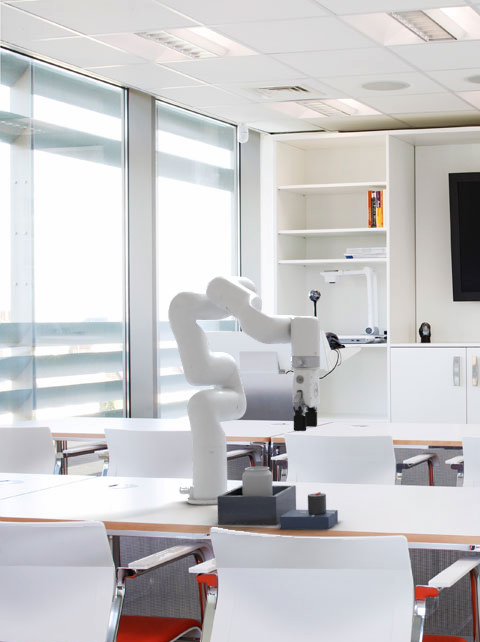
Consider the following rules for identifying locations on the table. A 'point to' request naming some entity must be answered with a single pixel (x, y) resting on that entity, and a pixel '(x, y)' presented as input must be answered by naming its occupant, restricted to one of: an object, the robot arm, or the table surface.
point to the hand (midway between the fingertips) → (305, 428)
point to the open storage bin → (255, 506)
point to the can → (257, 481)
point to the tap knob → (317, 503)
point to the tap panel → (308, 520)
